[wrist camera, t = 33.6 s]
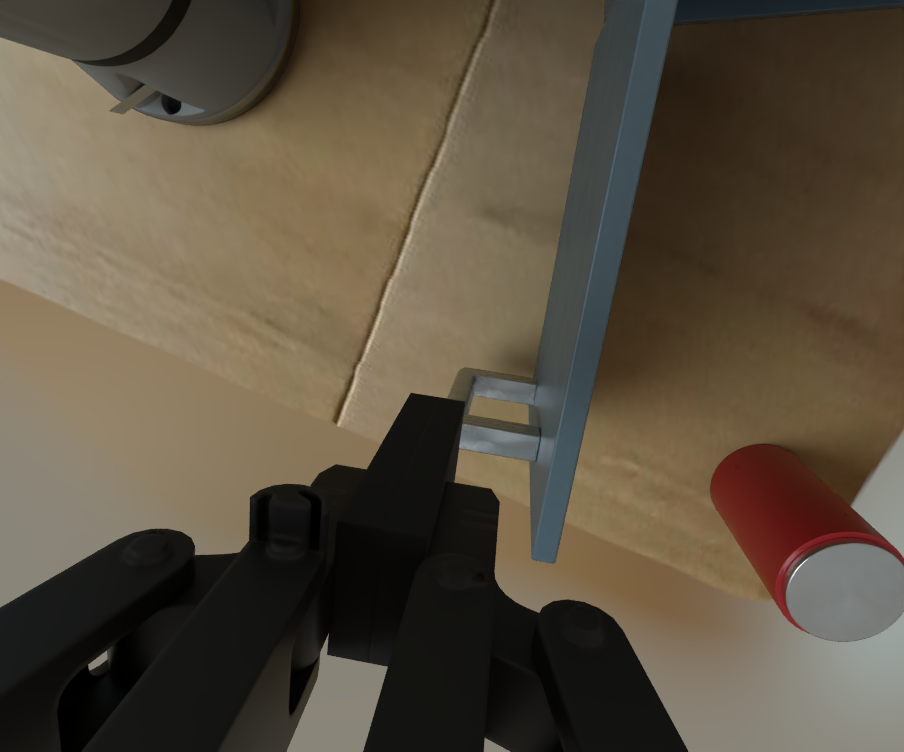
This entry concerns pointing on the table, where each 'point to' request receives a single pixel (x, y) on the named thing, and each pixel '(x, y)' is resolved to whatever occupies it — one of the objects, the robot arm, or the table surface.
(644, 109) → the fridge door
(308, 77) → the table surface
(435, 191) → the table surface
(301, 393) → the table surface
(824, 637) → the can
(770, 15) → the fridge
